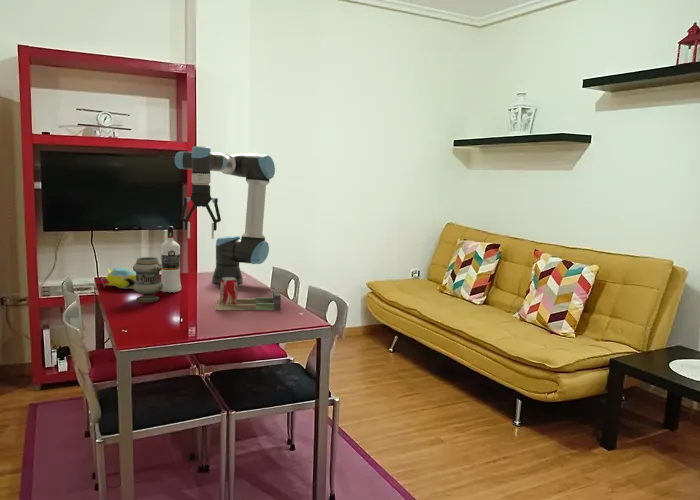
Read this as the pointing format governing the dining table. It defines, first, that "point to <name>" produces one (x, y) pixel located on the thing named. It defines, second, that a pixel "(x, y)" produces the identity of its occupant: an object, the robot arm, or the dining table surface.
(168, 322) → the dining table surface
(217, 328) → the dining table surface
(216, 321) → the dining table surface
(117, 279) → the decorative bird
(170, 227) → the vodka
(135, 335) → the dining table surface
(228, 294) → the soda can
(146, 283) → the apothecary jar
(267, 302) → the guide channel
